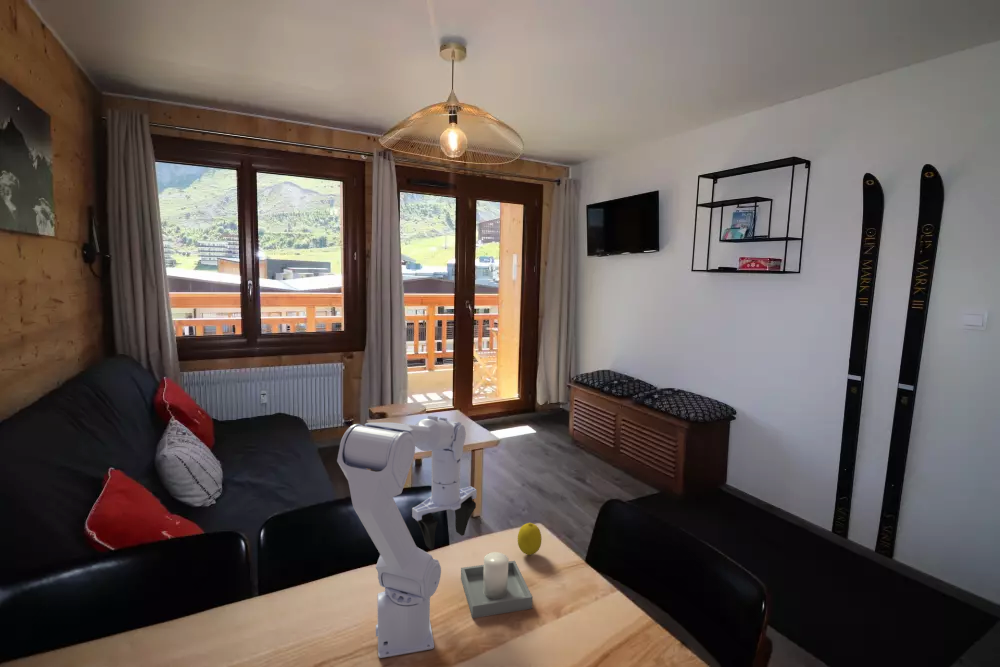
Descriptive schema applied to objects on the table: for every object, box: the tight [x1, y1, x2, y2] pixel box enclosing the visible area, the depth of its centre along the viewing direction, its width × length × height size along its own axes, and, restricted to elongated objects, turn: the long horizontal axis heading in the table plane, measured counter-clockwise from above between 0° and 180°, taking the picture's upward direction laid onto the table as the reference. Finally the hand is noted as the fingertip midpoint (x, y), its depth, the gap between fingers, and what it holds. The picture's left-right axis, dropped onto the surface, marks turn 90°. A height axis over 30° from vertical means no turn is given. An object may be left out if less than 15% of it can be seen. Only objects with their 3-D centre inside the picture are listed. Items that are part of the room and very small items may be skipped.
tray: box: [460, 560, 533, 619], centre depth 100 cm, size 12×12×2 cm
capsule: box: [483, 551, 509, 599], centre depth 100 cm, size 5×5×7 cm
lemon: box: [517, 522, 542, 556], centre depth 113 cm, size 6×6×8 cm
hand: (445, 539), depth 101 cm, fingers open, 7 cm apart
